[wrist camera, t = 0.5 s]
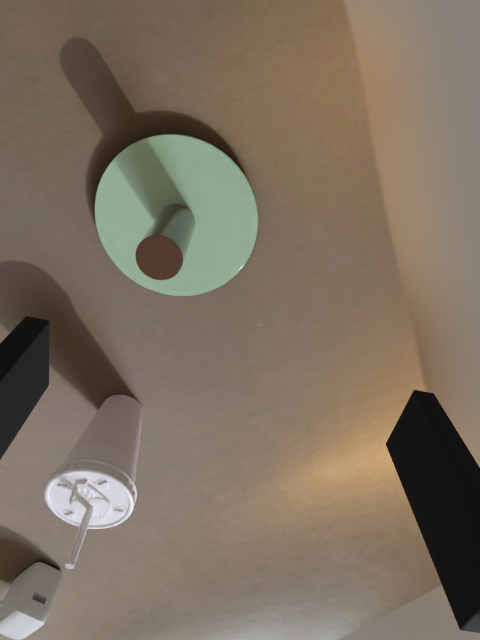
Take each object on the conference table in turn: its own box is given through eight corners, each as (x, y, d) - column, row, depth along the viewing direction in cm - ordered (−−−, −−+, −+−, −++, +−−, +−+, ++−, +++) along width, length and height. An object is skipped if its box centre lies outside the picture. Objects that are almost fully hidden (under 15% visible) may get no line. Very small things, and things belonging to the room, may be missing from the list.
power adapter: (21, 609, 55) (-2, 663, 49) (-14, 593, 53) (-42, 648, 48) (70, 572, 51) (51, 627, 46) (35, 554, 49) (10, 609, 44)
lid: (92, 125, 28) (39, 139, 20) (265, 139, 28) (272, 157, 21) (105, 284, 33) (67, 339, 26) (250, 295, 33) (252, 351, 26)
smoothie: (97, 439, 41) (33, 592, 28) (78, 384, 37) (-3, 530, 25) (163, 434, 40) (129, 588, 28) (150, 379, 37) (104, 524, 25)
